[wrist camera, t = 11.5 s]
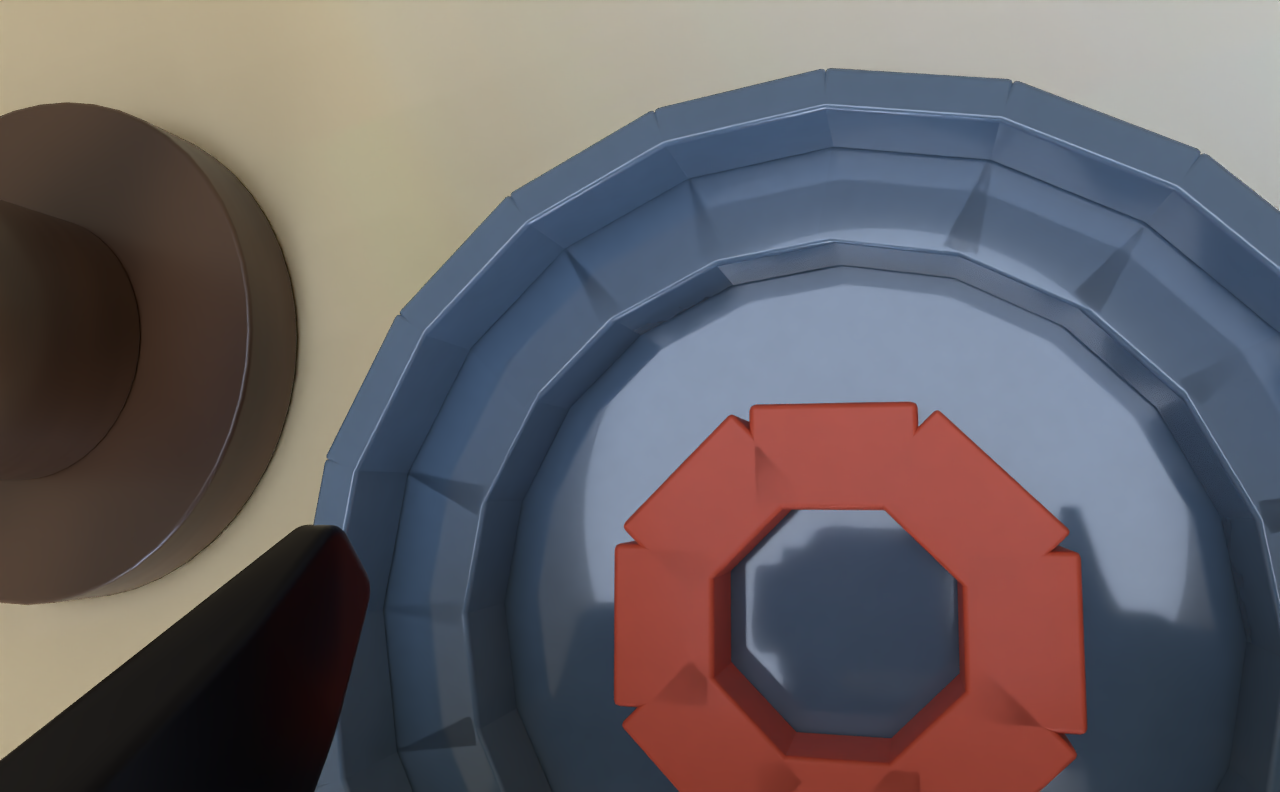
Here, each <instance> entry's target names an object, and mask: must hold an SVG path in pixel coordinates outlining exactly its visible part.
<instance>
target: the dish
mask: <svg viewBox="0 0 1280 792" xmlns="http://www.w3.org/2000/svg"><path fill="white" fill-rule="evenodd" d="M1200 153H1201V152H1200V151H1199V150H1198V149H1197V148H1194V147H1191V146H1189V145H1186V144H1183V143H1181V142H1178V141H1175V140H1173V139H1170V138H1167V137H1165V136H1162V135H1160V134H1157V133H1154V132H1152V131H1149V130H1146V129H1144V128H1141V127H1138V126H1136V125H1133V124H1130V123H1128V122H1125V121H1123V120H1120V119H1117V118H1115V117H1112V116H1109V115H1107V114H1104V113H1101V112H1099V111H1096V110H1094V109H1091V108H1088V107H1086V106H1083V105H1080V104H1078V103H1075V102H1072V101H1070V100H1067V99H1064V98H1062V97H1059V96H1057V95H1054V94H1051V93H1049V92H1046V91H1043V90H1041V89H1038V88H1035V87H1033V86H1030V85H1028V84H1025V83H1022V82H1020V81H1015V82H1014V83H1012V80H1009V79H999V78H983V77H967V76H950V75H934V74H918V73H902V72H885V71H869V70H853V69H837V68H829V69H827V70H826V71H825V70H824V69H819V70H814V71H810V72H806V73H802V74H798V75H794V76H789V77H785V78H781V79H777V80H773V81H769V82H765V83H760V84H756V85H752V86H748V87H744V88H740V89H735V90H731V91H727V92H723V93H719V94H715V95H710V96H706V97H702V98H698V99H694V100H690V101H686V102H681V103H677V104H673V105H669V106H665V107H661V108H658V109H656V110H655V112H653V111H650V112H648V113H646V114H644V115H643V116H641V117H639V118H638V119H636V120H634V121H633V122H631V123H629V124H627V125H626V126H624V127H622V128H621V129H619V130H617V131H616V132H614V133H612V134H610V135H609V136H607V137H605V138H604V139H602V140H600V141H599V142H597V143H595V144H593V145H592V146H590V147H588V148H587V149H585V150H583V151H582V152H580V153H578V154H576V155H575V156H573V157H571V158H570V159H568V160H566V161H565V162H563V163H561V164H559V165H558V166H556V167H554V168H553V169H551V170H549V171H547V172H546V173H544V174H542V175H541V176H539V177H537V178H536V179H534V180H532V181H530V182H529V183H527V184H525V185H524V186H522V187H520V188H519V189H517V190H515V191H513V192H512V193H511V197H510V196H508V197H506V198H505V199H504V200H503V201H502V202H501V203H500V204H499V205H498V206H497V207H496V208H495V209H494V211H493V212H492V213H491V214H490V215H489V216H488V217H487V218H486V219H485V220H484V221H483V222H482V224H481V225H480V226H479V227H478V228H477V229H476V230H475V231H474V232H473V233H472V234H471V235H470V236H469V238H468V239H467V240H466V241H465V242H464V243H463V244H462V245H461V246H460V247H459V248H458V249H457V250H456V252H455V253H454V254H453V255H452V256H451V257H450V258H449V259H448V260H447V261H446V262H445V263H444V264H443V266H442V267H441V268H440V269H439V270H438V271H437V272H436V273H435V274H434V275H433V276H432V277H431V278H430V280H429V281H428V282H427V283H426V284H425V285H424V286H423V287H422V288H421V289H420V290H419V291H418V292H417V294H416V295H415V296H414V297H413V298H412V299H411V300H410V301H409V302H408V303H407V304H406V305H405V307H404V308H403V309H402V310H401V311H400V315H397V316H396V317H395V319H394V321H393V323H392V325H391V327H390V329H389V331H388V333H387V335H386V337H385V339H384V341H383V343H382V345H381V347H380V349H379V351H378V353H377V355H376V357H375V359H374V362H373V364H372V366H371V368H370V370H369V372H368V374H367V376H366V378H365V380H364V382H363V384H362V386H361V388H360V390H359V392H358V394H357V396H356V398H355V400H354V402H353V404H352V406H351V408H350V410H349V412H348V414H347V416H346V418H345V420H344V422H343V424H342V426H341V428H340V430H339V432H338V434H337V436H336V438H335V440H334V442H333V444H332V446H331V448H330V450H329V452H328V454H327V458H328V460H326V462H325V465H324V471H323V476H322V482H321V487H320V492H319V498H318V503H317V508H316V514H315V519H314V525H335V526H338V527H339V528H341V529H342V530H343V531H344V532H345V533H346V535H347V537H348V538H349V540H350V542H351V544H352V546H353V548H354V550H355V552H356V554H357V555H358V557H359V559H360V561H361V563H362V565H363V567H364V569H365V571H366V572H367V575H368V577H369V581H370V600H369V605H368V609H367V612H366V616H365V620H364V624H363V628H362V632H361V636H360V640H359V644H358V648H357V652H356V656H355V660H354V664H353V668H352V672H351V676H350V679H349V683H348V687H347V691H346V695H345V699H344V703H343V707H342V711H341V715H340V718H339V722H338V725H337V729H336V732H335V735H334V738H333V741H332V744H331V747H330V750H329V753H328V756H327V759H326V762H325V764H324V767H323V770H322V772H321V775H320V778H319V781H318V783H317V786H316V789H315V791H314V792H679V791H678V790H677V789H676V787H675V786H674V785H673V784H672V783H671V782H670V781H669V779H668V778H667V777H666V776H665V775H664V774H663V773H662V772H661V770H660V769H659V768H658V767H657V766H656V765H655V764H654V762H653V761H652V760H651V759H650V758H649V757H648V756H647V754H646V753H645V752H644V751H643V750H642V749H641V748H640V746H639V745H638V744H637V743H636V742H635V741H634V740H633V738H632V737H631V736H630V735H629V734H628V733H627V732H626V730H625V729H624V728H623V726H622V724H623V721H624V720H625V719H626V718H627V717H628V716H629V715H630V714H631V713H632V712H633V711H634V710H635V709H636V708H637V707H625V706H618V705H616V704H615V701H614V566H615V547H616V545H618V544H620V543H625V542H631V541H635V540H634V539H633V538H632V537H631V536H630V535H629V534H628V533H627V532H626V531H625V529H624V524H625V522H626V521H627V520H628V519H629V518H630V517H631V516H632V515H633V514H634V513H635V512H636V510H637V509H638V508H639V507H640V506H641V505H642V504H643V503H644V502H645V501H646V500H647V499H648V498H649V497H650V496H651V495H652V494H653V493H654V492H655V491H656V490H657V489H658V488H659V487H660V486H661V485H662V484H663V483H664V482H665V481H666V480H667V479H668V477H669V476H670V475H671V474H672V473H673V472H674V471H675V470H676V469H677V468H678V467H679V466H680V465H681V464H682V463H683V462H684V461H685V460H686V459H687V458H688V457H689V456H690V455H691V454H692V453H693V452H694V451H695V450H696V449H697V448H698V447H699V446H700V444H701V443H702V442H703V441H704V440H705V439H706V438H707V437H708V436H709V435H710V434H711V433H712V432H713V431H714V430H715V429H716V428H717V427H718V426H719V425H720V424H721V423H722V422H723V421H724V420H725V419H726V418H727V417H728V416H730V415H734V416H737V417H739V418H742V419H744V420H746V421H749V410H750V408H751V406H753V405H756V404H808V403H860V402H914V403H916V405H917V407H918V427H919V426H920V425H921V424H922V423H923V422H924V421H925V420H926V419H927V418H928V417H929V416H930V415H931V414H932V413H933V412H934V411H936V410H938V411H940V412H941V413H943V414H944V415H945V416H946V417H947V418H948V419H949V420H950V421H951V422H952V423H953V424H955V425H956V426H957V427H958V428H959V429H960V430H961V431H962V432H963V433H964V434H965V435H967V436H968V437H969V438H970V439H971V440H972V441H973V442H974V443H975V444H976V445H977V446H979V447H980V448H981V449H982V450H983V451H984V452H985V453H986V454H987V455H988V456H989V457H991V458H992V459H993V460H994V461H995V462H996V463H997V464H998V465H999V466H1000V467H1001V468H1003V469H1004V470H1005V471H1006V472H1007V473H1008V474H1009V475H1010V476H1011V477H1012V478H1013V479H1015V480H1016V481H1017V482H1018V483H1019V484H1020V485H1021V486H1022V487H1023V488H1024V489H1025V490H1027V491H1028V492H1029V493H1030V494H1031V495H1032V496H1033V497H1034V498H1035V499H1036V500H1037V501H1039V502H1040V503H1041V504H1042V505H1043V506H1044V507H1045V508H1046V509H1047V510H1048V511H1049V512H1051V513H1052V514H1053V515H1054V516H1055V517H1056V518H1057V519H1058V520H1059V521H1060V522H1061V523H1063V524H1064V525H1065V526H1066V527H1067V528H1068V529H1069V531H1070V533H1069V535H1068V536H1067V537H1066V538H1065V539H1064V540H1063V541H1062V542H1061V543H1060V544H1059V545H1058V546H1061V547H1064V548H1066V549H1069V550H1072V551H1074V552H1077V553H1079V555H1080V557H1081V570H1082V597H1083V624H1084V650H1085V677H1086V703H1087V731H1086V733H1084V734H1081V735H1079V734H1065V735H1066V737H1067V738H1068V740H1069V741H1070V743H1071V745H1072V746H1073V748H1074V749H1075V751H1076V753H1077V756H1076V759H1075V760H1074V761H1072V762H1071V763H1070V764H1069V765H1068V766H1067V767H1066V768H1065V769H1064V770H1063V771H1062V772H1060V773H1059V774H1058V775H1057V776H1056V777H1055V778H1054V779H1053V780H1052V781H1051V782H1050V783H1049V784H1047V785H1046V786H1045V787H1044V788H1043V789H1042V790H1041V791H1040V792H1280V211H1278V210H1277V209H1276V208H1275V207H1273V206H1272V205H1271V204H1270V203H1268V202H1267V201H1266V200H1264V199H1263V198H1262V197H1261V196H1259V195H1258V194H1257V193H1256V192H1254V191H1253V190H1252V189H1251V188H1249V187H1248V186H1247V185H1246V184H1244V183H1243V182H1242V181H1240V180H1239V179H1238V178H1237V177H1235V176H1234V175H1233V174H1232V173H1230V172H1229V171H1228V170H1227V169H1225V168H1224V167H1223V166H1222V165H1220V164H1219V163H1218V162H1216V161H1215V160H1214V159H1213V158H1211V157H1210V156H1209V155H1207V154H1205V153H1203V154H1201V155H1200ZM731 662H732V663H733V665H734V666H735V667H736V668H737V669H738V670H739V671H740V672H741V673H742V674H743V675H744V676H745V677H746V679H747V680H748V681H749V682H750V683H751V684H752V685H753V686H754V687H755V688H756V689H757V690H758V691H759V692H760V694H761V695H762V696H763V697H764V698H765V699H766V700H767V701H768V702H769V703H770V704H771V705H772V706H773V707H774V709H775V710H776V711H777V712H778V713H779V714H780V715H781V716H782V717H783V718H784V719H785V720H786V721H787V723H788V724H789V725H790V726H791V727H792V728H793V729H794V730H795V731H796V732H801V733H816V734H831V735H847V736H862V737H877V738H892V737H893V736H894V735H895V734H896V733H897V732H899V731H900V730H901V729H902V728H903V727H904V726H905V725H906V724H907V723H908V722H909V721H910V720H911V719H912V718H913V717H914V716H915V715H916V714H917V713H919V712H920V711H921V710H922V709H923V708H924V707H925V706H926V705H927V704H928V703H929V702H930V701H931V700H932V699H933V698H934V697H935V696H936V695H937V694H939V693H940V692H941V691H942V690H943V689H944V688H945V687H946V686H947V685H948V684H949V683H950V682H951V681H952V680H953V679H954V678H955V677H956V676H957V675H958V674H960V662H959V624H958V586H957V580H956V579H955V578H954V577H953V576H952V575H951V574H950V573H949V572H948V571H947V570H946V569H945V568H944V567H943V566H942V565H941V564H940V563H939V562H937V561H936V560H935V559H934V558H933V557H932V556H931V555H930V554H929V553H928V552H927V551H926V550H925V549H924V548H923V547H922V546H921V545H920V544H919V543H918V542H917V541H916V540H915V539H914V538H913V537H912V536H911V535H910V534H909V533H908V532H906V531H905V530H904V529H903V528H902V527H901V526H900V525H899V524H898V523H897V522H896V521H895V520H894V519H893V518H892V517H891V516H890V515H889V514H888V513H887V512H886V511H885V510H791V511H790V512H789V513H788V514H787V515H786V516H785V517H784V518H783V519H782V520H781V521H780V522H779V523H778V524H777V525H776V526H775V527H774V528H773V529H772V530H771V531H770V532H769V533H768V534H767V535H766V536H765V537H764V538H763V539H762V540H761V541H760V542H759V543H758V544H757V545H756V546H755V547H754V548H753V549H752V550H751V551H750V552H749V553H748V554H747V555H746V556H745V557H744V558H743V559H742V560H741V561H740V562H739V563H738V564H737V565H736V566H735V567H734V568H733V569H732V570H731Z"/></svg>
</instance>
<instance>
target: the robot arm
mask: <svg viewBox="0 0 1280 792" xmlns="http://www.w3.org/2000/svg"><path fill="white" fill-rule="evenodd" d="M369 600H370V581H369V577H368V575H367V572H366V571H365V569H364V567H363V565H362V563H361V561H360V559H359V557H358V555H357V554H356V552H355V550H354V548H353V546H352V544H351V542H350V540H349V538H348V537H347V535H346V533H345V532H344V531H343V530H342V529H341V528H339V527H338V526H335V525H304V526H300V527H298V528H296V529H295V530H293V531H292V532H291V533H289V534H288V535H287V536H286V537H284V538H283V539H282V540H280V541H279V542H278V543H277V544H275V545H274V546H273V547H272V548H270V549H269V550H268V551H266V552H265V553H264V554H263V555H261V556H260V557H259V558H258V559H256V560H255V561H254V562H252V563H251V564H250V565H249V566H247V567H246V568H245V569H244V570H242V571H241V572H240V573H238V574H237V575H236V576H235V577H233V578H232V579H231V580H230V581H228V582H227V583H226V584H224V585H223V586H222V587H221V588H219V589H218V590H217V591H216V592H214V593H213V594H212V595H210V596H209V597H208V598H207V599H205V600H204V601H203V602H202V603H200V604H199V605H198V606H196V607H195V608H194V609H193V610H191V611H190V612H189V613H188V614H186V615H185V616H184V617H182V618H181V619H180V620H179V621H177V622H176V623H175V624H174V625H172V626H171V627H170V628H168V629H167V630H166V631H165V632H163V633H162V634H161V635H160V636H158V637H157V638H156V639H154V640H153V641H152V642H151V643H149V644H148V645H147V646H146V647H144V648H143V649H142V650H140V651H139V652H138V653H137V654H135V655H134V656H133V657H132V658H130V659H129V660H128V661H126V662H125V663H124V664H123V665H121V666H120V667H119V668H118V669H116V670H115V671H114V672H112V673H111V674H110V675H109V676H107V677H106V678H105V679H104V680H102V681H101V682H100V683H98V684H97V685H96V686H95V687H93V688H92V689H91V690H90V691H88V692H87V693H86V694H84V695H83V696H82V697H81V698H79V699H78V700H77V701H76V702H74V703H73V704H72V705H70V706H69V707H68V708H67V709H65V710H64V711H63V712H61V713H60V714H59V715H58V716H56V717H55V718H54V719H53V720H51V721H50V722H49V723H47V724H46V725H45V726H44V727H42V728H41V729H40V730H39V731H37V732H36V733H35V734H33V735H32V736H31V737H30V738H28V739H27V740H26V741H25V742H23V743H22V744H21V745H19V746H18V747H17V748H16V749H14V750H13V751H12V752H11V753H9V754H8V755H7V756H5V757H4V758H3V759H2V760H0V792H314V791H315V789H316V786H317V783H318V781H319V778H320V775H321V772H322V770H323V767H324V764H325V762H326V759H327V756H328V753H329V750H330V747H331V744H332V741H333V738H334V735H335V732H336V729H337V725H338V722H339V718H340V715H341V711H342V707H343V703H344V699H345V695H346V691H347V687H348V683H349V679H350V676H351V672H352V668H353V664H354V660H355V656H356V652H357V648H358V644H359V640H360V636H361V632H362V628H363V624H364V620H365V616H366V612H367V609H368V605H369Z"/></svg>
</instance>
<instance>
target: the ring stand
mask: <svg viewBox="0 0 1280 792" xmlns="http://www.w3.org/2000/svg"><path fill="white" fill-rule="evenodd" d="M296 345H297V335H296V317H295V305H294V300H293V294H292V289H291V283H290V277H289V274H288V271H287V268H286V264H285V261H284V258H283V255H282V251H281V248H280V246H279V244H278V242H277V240H276V237H275V235H274V233H273V231H272V229H271V226H270V224H269V222H268V220H267V219H266V217H265V216H264V214H263V212H262V211H261V209H260V208H259V206H258V204H257V203H256V201H255V200H254V198H253V197H252V195H251V194H250V193H249V192H248V191H247V189H246V188H245V187H244V186H243V185H242V184H241V182H240V181H239V180H238V179H237V178H236V177H235V175H234V174H233V173H231V172H230V171H229V170H228V169H227V168H226V167H224V166H223V165H222V164H221V163H220V162H219V161H217V160H216V159H215V158H214V157H213V156H211V155H209V154H208V153H206V152H205V151H203V150H201V149H200V148H198V147H197V146H195V145H193V144H192V143H190V142H188V141H186V140H183V139H181V138H179V137H177V136H175V135H173V134H171V133H169V132H167V131H165V130H163V129H161V128H159V127H156V126H154V125H152V124H150V123H148V122H146V121H144V120H142V119H139V118H137V117H134V116H132V115H130V114H127V113H125V112H122V111H120V110H116V109H112V108H107V107H103V106H99V105H95V104H82V103H55V104H43V105H37V106H33V107H28V108H24V109H20V110H16V111H12V112H10V113H7V114H5V115H2V116H0V603H9V604H22V605H32V604H44V603H55V602H63V601H70V600H78V599H85V598H93V597H101V596H108V595H112V594H116V593H120V592H124V591H128V590H132V589H136V588H138V587H141V586H143V585H145V584H148V583H150V582H152V581H155V580H157V579H160V578H162V577H163V576H165V575H167V574H168V573H170V572H172V571H173V570H175V569H177V568H178V567H180V566H182V565H183V564H185V563H186V562H188V561H189V560H190V559H191V558H193V557H194V556H195V555H196V554H198V553H199V552H200V551H201V550H203V549H204V548H205V547H206V546H208V545H209V544H210V543H211V542H212V541H213V540H214V539H215V538H216V537H217V536H218V535H219V534H220V533H221V532H222V531H223V530H224V529H225V527H226V526H227V525H228V524H229V523H230V522H231V521H232V520H233V519H234V517H235V516H236V515H237V513H238V512H239V511H240V509H241V508H242V507H243V505H244V504H245V502H246V501H247V500H248V498H249V497H250V496H251V494H252V492H253V491H254V489H255V487H256V485H257V484H258V482H259V480H260V478H261V477H262V475H263V473H264V471H265V470H266V468H267V466H268V463H269V461H270V459H271V456H272V454H273V452H274V449H275V447H276V445H277V442H278V440H279V438H280V434H281V431H282V428H283V424H284V421H285V418H286V414H287V411H288V407H289V403H290V398H291V392H292V386H293V381H294V375H295V362H296Z"/></svg>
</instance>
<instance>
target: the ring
mask: <svg viewBox="0 0 1280 792" xmlns="http://www.w3.org/2000/svg"><path fill="white" fill-rule="evenodd" d="M791 510H885V511H886V512H887V513H888V514H889V515H890V516H891V517H892V518H893V519H894V520H895V521H896V522H897V523H898V524H899V525H900V526H901V527H902V528H903V529H904V530H905V531H906V532H908V533H909V534H910V535H911V536H912V537H913V538H914V539H915V540H916V541H917V542H918V543H919V544H920V545H921V546H922V547H923V548H924V549H925V550H926V551H927V552H928V553H929V554H930V555H931V556H932V557H933V558H934V559H935V560H936V561H937V562H939V563H940V564H941V565H942V566H943V567H944V568H945V569H946V570H947V571H948V572H949V573H950V574H951V575H952V576H953V577H954V578H955V579H956V580H957V586H958V624H959V662H960V674H958V675H957V676H956V677H955V678H954V679H953V680H952V681H951V682H950V683H949V684H948V685H947V686H946V687H945V688H944V689H943V690H942V691H941V692H940V693H939V694H937V695H936V696H935V697H934V698H933V699H932V700H931V701H930V702H929V703H928V704H927V705H926V706H925V707H924V708H923V709H922V710H921V711H920V712H919V713H917V714H916V715H915V716H914V717H913V718H912V719H911V720H910V721H909V722H908V723H907V724H906V725H905V726H904V727H903V728H902V729H901V730H900V731H899V732H897V733H896V734H895V735H894V736H893V737H892V738H877V737H862V736H847V735H831V734H816V733H801V732H796V731H795V730H794V729H793V728H792V727H791V726H790V725H789V724H788V723H787V721H786V720H785V719H784V718H783V717H782V716H781V715H780V714H779V713H778V712H777V711H776V710H775V709H774V707H773V706H772V705H771V704H770V703H769V702H768V701H767V700H766V699H765V698H764V697H763V696H762V695H761V694H760V692H759V691H758V690H757V689H756V688H755V687H754V686H753V685H752V684H751V683H750V682H749V681H748V680H747V679H746V677H745V676H744V675H743V674H742V673H741V672H740V671H739V670H738V669H737V668H736V667H735V666H734V665H733V663H732V662H731V570H732V569H733V568H734V567H735V566H736V565H737V564H738V563H739V562H740V561H741V560H742V559H743V558H744V557H745V556H746V555H747V554H748V553H749V552H750V551H751V550H752V549H753V548H754V547H755V546H756V545H757V544H758V543H759V542H760V541H761V540H762V539H763V538H764V537H765V536H766V535H767V534H768V533H769V532H770V531H771V530H772V529H773V528H774V527H775V526H776V525H777V524H778V523H779V522H780V521H781V520H782V519H783V518H784V517H785V516H786V515H787V514H788V513H789V512H790V511H791ZM624 529H625V531H626V532H627V533H628V534H629V535H630V536H631V537H632V538H633V539H634V540H635V541H631V542H625V543H620V544H618V545H616V547H615V566H614V701H615V704H616V705H618V706H625V707H637V708H636V709H635V710H634V711H633V712H632V713H631V714H630V715H629V716H628V717H627V718H626V719H625V720H624V721H623V724H622V726H623V728H624V729H625V730H626V732H627V733H628V734H629V735H630V736H631V737H632V738H633V740H634V741H635V742H636V743H637V744H638V745H639V746H640V748H641V749H642V750H643V751H644V752H645V753H646V754H647V756H648V757H649V758H650V759H651V760H652V761H653V762H654V764H655V765H656V766H657V767H658V768H659V769H660V770H661V772H662V773H663V774H664V775H665V776H666V777H667V778H668V779H669V781H670V782H671V783H672V784H673V785H674V786H675V787H676V789H677V790H678V791H679V792H1040V791H1041V790H1042V789H1043V788H1044V787H1045V786H1046V785H1047V784H1049V783H1050V782H1051V781H1052V780H1053V779H1054V778H1055V777H1056V776H1057V775H1058V774H1059V773H1060V772H1062V771H1063V770H1064V769H1065V768H1066V767H1067V766H1068V765H1069V764H1070V763H1071V762H1072V761H1074V760H1075V759H1076V756H1077V753H1076V751H1075V749H1074V748H1073V746H1072V745H1071V743H1070V741H1069V740H1068V738H1067V737H1066V735H1065V734H1079V735H1081V734H1084V733H1086V731H1087V703H1086V677H1085V650H1084V624H1083V597H1082V570H1081V557H1080V555H1079V553H1077V552H1074V551H1072V550H1069V549H1066V548H1064V547H1061V546H1058V545H1059V544H1060V543H1061V542H1062V541H1063V540H1064V539H1065V538H1066V537H1067V536H1068V535H1069V533H1070V531H1069V529H1068V528H1067V527H1066V526H1065V525H1064V524H1063V523H1061V522H1060V521H1059V520H1058V519H1057V518H1056V517H1055V516H1054V515H1053V514H1052V513H1051V512H1049V511H1048V510H1047V509H1046V508H1045V507H1044V506H1043V505H1042V504H1041V503H1040V502H1039V501H1037V500H1036V499H1035V498H1034V497H1033V496H1032V495H1031V494H1030V493H1029V492H1028V491H1027V490H1025V489H1024V488H1023V487H1022V486H1021V485H1020V484H1019V483H1018V482H1017V481H1016V480H1015V479H1013V478H1012V477H1011V476H1010V475H1009V474H1008V473H1007V472H1006V471H1005V470H1004V469H1003V468H1001V467H1000V466H999V465H998V464H997V463H996V462H995V461H994V460H993V459H992V458H991V457H989V456H988V455H987V454H986V453H985V452H984V451H983V450H982V449H981V448H980V447H979V446H977V445H976V444H975V443H974V442H973V441H972V440H971V439H970V438H969V437H968V436H967V435H965V434H964V433H963V432H962V431H961V430H960V429H959V428H958V427H957V426H956V425H955V424H953V423H952V422H951V421H950V420H949V419H948V418H947V417H946V416H945V415H944V414H943V413H941V412H940V411H938V410H936V411H934V412H933V413H932V414H931V415H930V416H929V417H928V418H927V419H926V420H925V421H924V422H923V423H922V424H921V425H920V426H919V427H918V407H917V405H916V403H914V402H860V403H808V404H756V405H753V406H751V408H750V410H749V421H746V420H744V419H742V418H739V417H737V416H734V415H730V416H728V417H727V418H726V419H725V420H724V421H723V422H722V423H721V424H720V425H719V426H718V427H717V428H716V429H715V430H714V431H713V432H712V433H711V434H710V435H709V436H708V437H707V438H706V439H705V440H704V441H703V442H702V443H701V444H700V446H699V447H698V448H697V449H696V450H695V451H694V452H693V453H692V454H691V455H690V456H689V457H688V458H687V459H686V460H685V461H684V462H683V463H682V464H681V465H680V466H679V467H678V468H677V469H676V470H675V471H674V472H673V473H672V474H671V475H670V476H669V477H668V479H667V480H666V481H665V482H664V483H663V484H662V485H661V486H660V487H659V488H658V489H657V490H656V491H655V492H654V493H653V494H652V495H651V496H650V497H649V498H648V499H647V500H646V501H645V502H644V503H643V504H642V505H641V506H640V507H639V508H638V509H637V510H636V512H635V513H634V514H633V515H632V516H631V517H630V518H629V519H628V520H627V521H626V522H625V524H624Z"/></svg>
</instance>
